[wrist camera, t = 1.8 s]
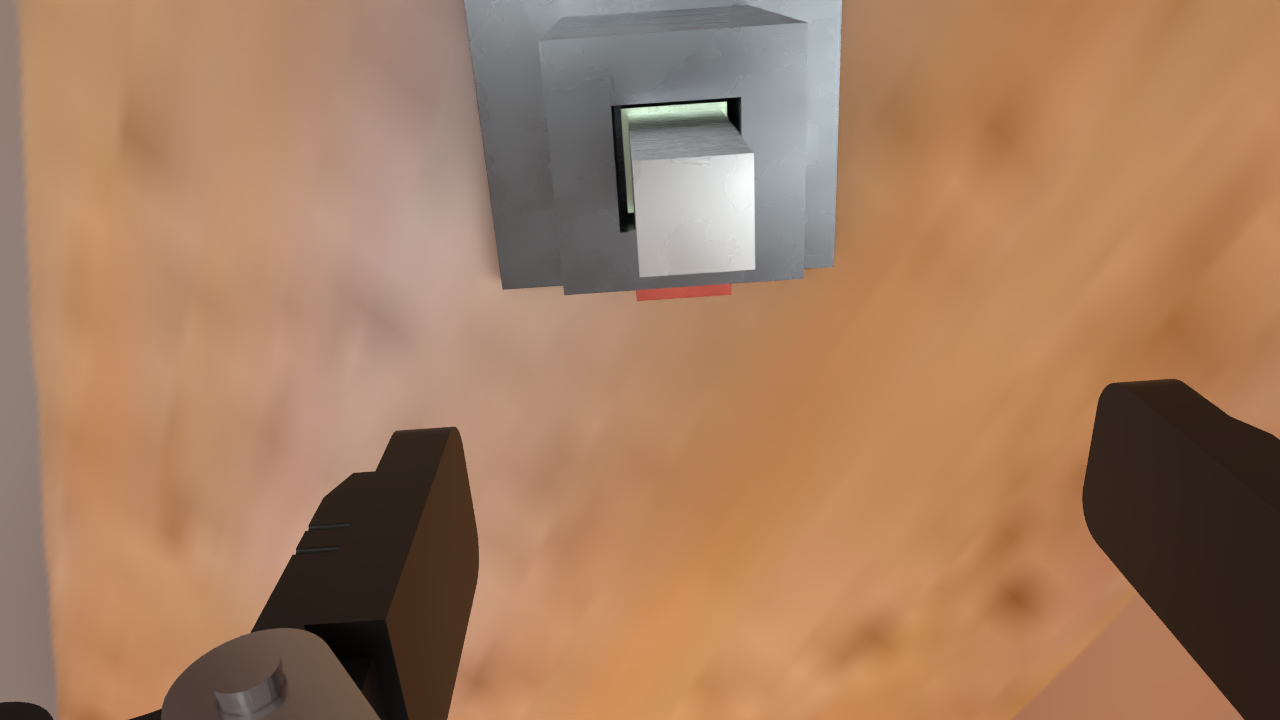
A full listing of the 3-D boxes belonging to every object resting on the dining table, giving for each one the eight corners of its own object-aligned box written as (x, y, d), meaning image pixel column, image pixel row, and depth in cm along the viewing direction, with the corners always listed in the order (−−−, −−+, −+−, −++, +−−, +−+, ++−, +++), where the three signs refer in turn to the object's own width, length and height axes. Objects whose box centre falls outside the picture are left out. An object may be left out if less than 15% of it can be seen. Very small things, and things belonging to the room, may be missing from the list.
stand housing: (836, -106, 37) (954, -142, 24) (827, 257, 44) (915, 378, 31) (458, -80, 37) (378, -103, 24) (506, 279, 44) (462, 409, 31)
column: (697, 66, 38) (762, 143, 21) (699, 145, 39) (762, 276, 23) (618, 71, 38) (623, 153, 21) (624, 150, 39) (632, 285, 23)
